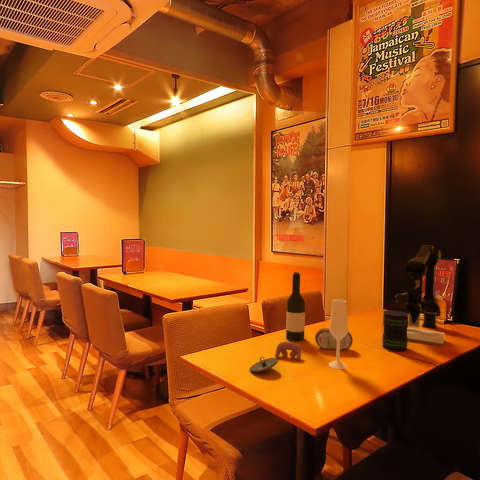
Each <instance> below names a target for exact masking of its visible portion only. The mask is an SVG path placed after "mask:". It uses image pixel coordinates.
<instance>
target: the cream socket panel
mask: <svg viewBox="0 0 480 480" xmlns="http://www.w3.org/2000/svg"><path fill="white" fill-rule="evenodd" d="M407 337H408V340H407V341H409V342H414V343H422V344H429V345H435V346H441V347H444V343H445V332H441V331H433V330H426V329H421V328H419V329H418V328H415V327H413V328H412V327H408V328H407Z"/></svg>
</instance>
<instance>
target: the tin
mask: <svg viewBox="0 0 480 480" xmlns="http://www.w3.org/2000/svg"><path fill="white" fill-rule="evenodd" d="M329 328H330V327H329ZM329 328H327V327H325V328H320V329H319V330H317V332H316V333H315V337H314V340H315V342H316V345H317V346H318V347H319V348H320V349H323V350H332V351H336V350H337V339H335V338H334V337H333V336H332V335H331V333H330V331H329ZM353 341H354V340H353V336H352V333H350V331H348V333H347V335H346V336H345V337H344V338H342V339H341V340H340V351H346V350H349V349H350V348H351V347H352V345H353Z"/></svg>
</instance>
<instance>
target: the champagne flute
mask: <svg viewBox="0 0 480 480" xmlns="http://www.w3.org/2000/svg"><path fill="white" fill-rule="evenodd" d="M347 310H348V308H347V300H345V299H341V298H340V299H332V304H331V313H330V321H329V322H330V323H329V331H330V333H331V335H332V336H333V337H334V338H335V339H337V350H335V351H336V353H335V354H336V355H335V356H336V358H335V360H334V361H331V362H329V363H328V366H329V368H332V369H335V370H336V369H337V370H344V369H347V368H348V365H347V364H345V363H344V362H343V361H341V360H340V359H341V358H340V357H341V356H340V355H341V350H340V340H341V339H342V338H344V337H345V336H346V335H347V333H348V332H349V326H348V325H349V324H348V323H349V322H348V311H347Z"/></svg>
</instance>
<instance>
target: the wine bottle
mask: <svg viewBox="0 0 480 480" xmlns="http://www.w3.org/2000/svg"><path fill="white" fill-rule="evenodd" d="M291 287H292V290H291V291H292V292H291V293H290V296H289V297H288V299H287V300H286V317H285V318H286V320H285V321H286V323H285V324H286V326H285V339H286V340H287V341H289V342H302V341H303V342H304V341H305V324H306V323H305V322H306V321H305V319H306V302H305V300H304V298H303V296H302V295H301V274H300V272H298V271H294V272H293V273H292V286H291Z"/></svg>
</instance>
